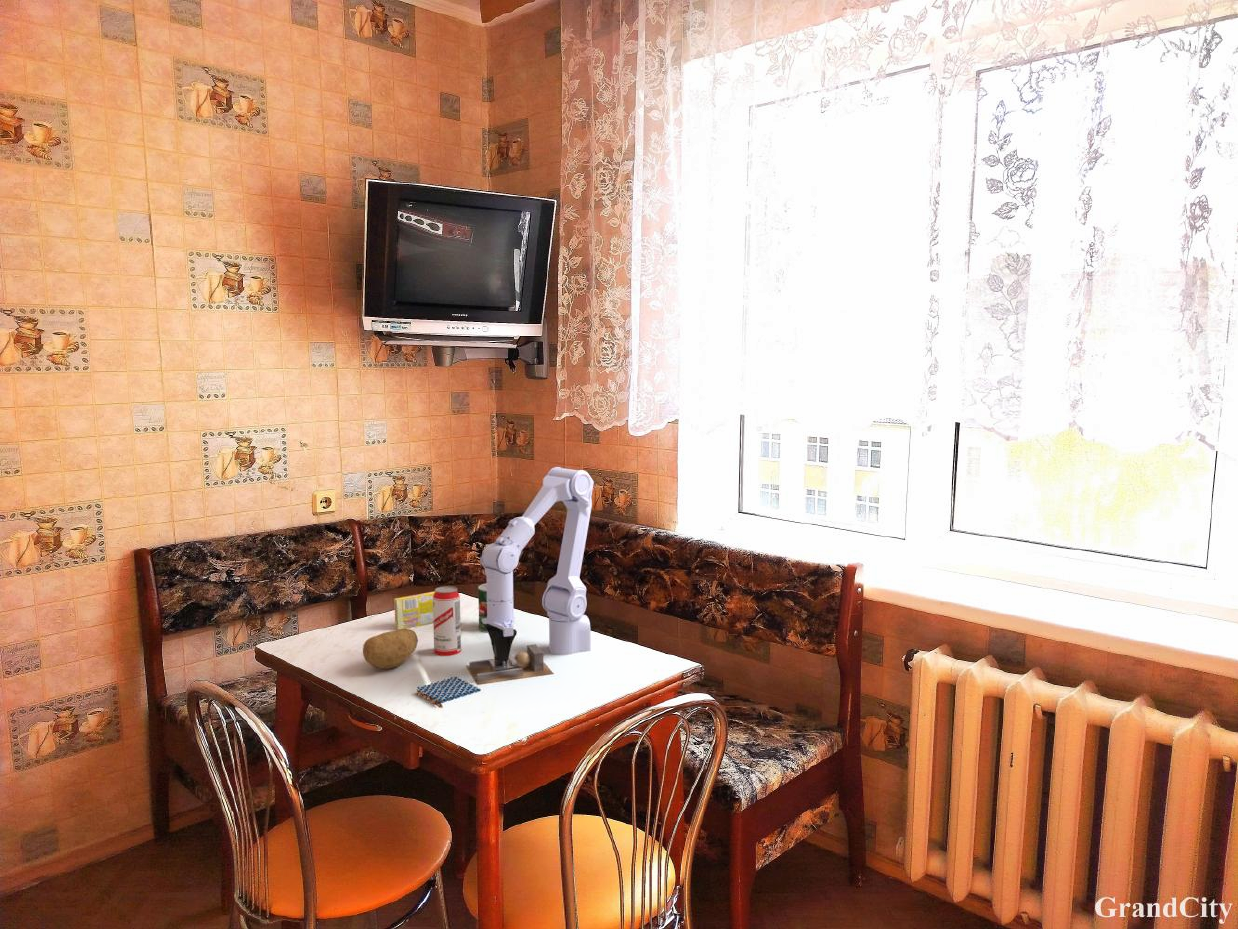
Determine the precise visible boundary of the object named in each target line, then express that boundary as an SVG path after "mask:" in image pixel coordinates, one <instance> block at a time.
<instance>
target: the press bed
mask: <svg viewBox="0 0 1238 929" xmlns="http://www.w3.org/2000/svg"><path fill="white" fill-rule="evenodd" d="M526 647H527V648H526V650H527V652H526V653H527V654H528V655H529V656H530V664H529V665H528V666H527V667H526V668H518V667H517V669H510V670H502V671H495V672H492V670H491V669H490V668H489V660H494V658H490V659H488V658H487V659H481V660H474V661H469V662H468V664H469V665H465V667H466V669H467V670H468V672H469V674H470V675H471V677H472V679H473V680H474V682H475V684H476V685H477V686H479V685H480V686H481V685H486V684H494V683H501V682H508V681H513V680H514V681H515V680H516V681H517V680H521V679H523V680H524V679H527V678H528V679H529V678H535V677H536V678H537V677H544V676H550V675H554V674H555V673H554V672H553V671H552V670H551V669H550V667H549V666H548V665H547V664H546V662H544V652H543V651H542V649H541V648H540V647H539V646H538V645H537V644H535V643H534V644H528V645H527V646H526Z"/></svg>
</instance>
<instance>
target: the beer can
mask: <svg viewBox="0 0 1238 929" xmlns="http://www.w3.org/2000/svg"><path fill="white" fill-rule="evenodd" d="M434 591H435V593H434V595H433V624H432V625H433V651H434V652H433V653H434V654H435V655H437V656H440V657H448V656H449V657H450V656H456V655H458V654H460V653H461V652H462V634H461V633H462V631H461V630H462V629H461V596H460V593H459V592H458V588H457V587H456V586H451V585H448V586H445V585H444V586H440V587H437V588H434Z"/></svg>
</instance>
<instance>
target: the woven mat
mask: <svg viewBox="0 0 1238 929" xmlns="http://www.w3.org/2000/svg"><path fill="white" fill-rule="evenodd" d="M416 688H417V689H416V693H415V695H416V694H417V693H418V696H419V697H420V698H421V697H423V698H422V699H424V700H427V701H428V700H429V701H428V702H429V703H431V704H433V705H434V706H435V705H437V708H443V704H444V703H445V702H448V701H449V702H450V701H452V700H454V699H458V698H460V697H462V698H463V697H465V696H467V695H471V694H473V693H478V692H481V688H479V687H478V686H475V685H474V684H472V683H470V682H468V681H467V680H464V679H463V678H460V677H457V676H454V677H453V676H451V677H450V678H447V679H445V678H444V679H443V680H441V681H439V680H438V681H436V682H434V683H433V682H431V683H430V684H424V685H422V686H421V687H420V686H417V687H416ZM421 695H422V696H421ZM427 698H428V699H427Z"/></svg>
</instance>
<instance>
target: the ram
mask: <svg viewBox="0 0 1238 929" xmlns="http://www.w3.org/2000/svg"><path fill="white" fill-rule="evenodd" d="M493 656H494V658H493V659H494V660H489V668H490V669H491V670H492V672H495V671H502V670H510V669H517V661H516V660H515V656H513V654H509V658H508V661H502V662H499V661H498V659H497V654H496V648H495V644H494V653H493Z"/></svg>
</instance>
